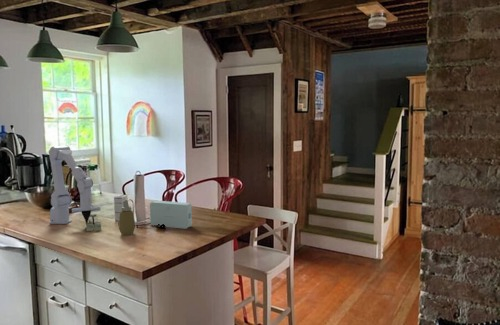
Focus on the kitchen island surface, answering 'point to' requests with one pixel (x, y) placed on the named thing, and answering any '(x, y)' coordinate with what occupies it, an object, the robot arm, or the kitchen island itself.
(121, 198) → the syrup box
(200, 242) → the kitchen island surface
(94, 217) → the fixed tong arm
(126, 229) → the squeeze bottle
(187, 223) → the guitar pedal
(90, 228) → the bar
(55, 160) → the robot arm
